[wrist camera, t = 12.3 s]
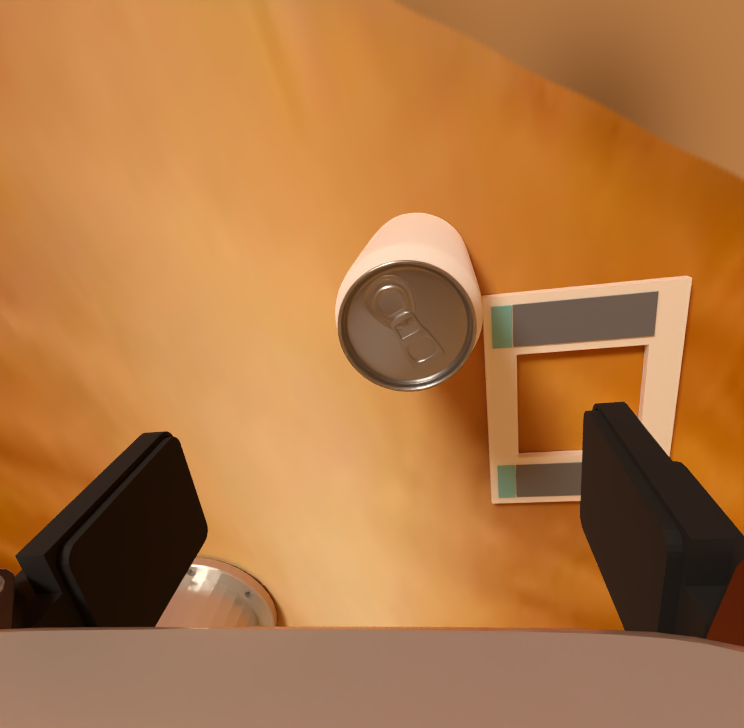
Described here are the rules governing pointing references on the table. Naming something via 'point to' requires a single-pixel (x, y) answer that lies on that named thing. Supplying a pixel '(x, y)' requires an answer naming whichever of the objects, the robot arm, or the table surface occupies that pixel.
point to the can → (410, 305)
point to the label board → (577, 332)
